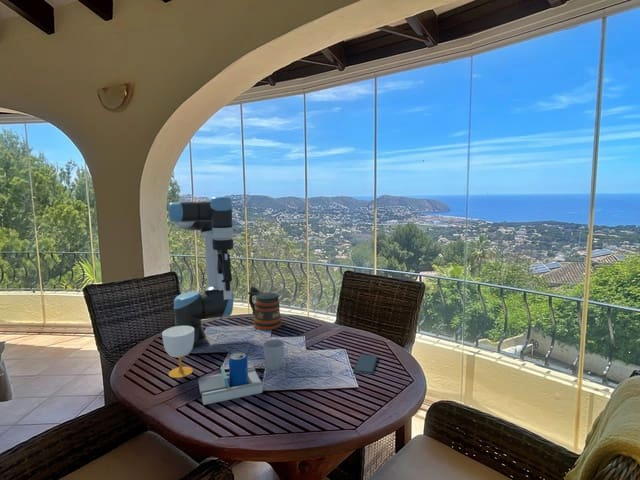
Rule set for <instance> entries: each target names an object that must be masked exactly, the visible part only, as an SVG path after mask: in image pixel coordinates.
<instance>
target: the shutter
mask: <svg viewBox="0 0 640 480" xmlns="http://www.w3.org/2000/svg"><path fill="white" fill-rule="evenodd" d="M225 370H226V369H225V367H224V366H220V374H221V375H219V376H213V377H208V378H203V379H200V378H198V379H197V383H198V387H199V394H200V395H202V394H203V393H206V392H211V391H216V390H221V389H226V388H228V381H227V375H226V373H227V372H226V371H225Z"/></svg>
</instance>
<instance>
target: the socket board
mask: <svg viewBox="0 0 640 480" xmlns="http://www.w3.org/2000/svg"><path fill="white" fill-rule="evenodd" d="M225 373H226V375H227V381H228V388H226V389H221V390H216V391H211V392H206V393H203V394H201V399H202V404H203V405H204V406H205V405H209V404H214V403H219V402H224V401H230V400H234V399H239V398H245V397H249V396H254V395H257V394H261V393H263V381H262V380H261V379H260V377H259V375H258V373H257V372H256V367H251V368H248V384H246V385H241V386H236V387H231V388H230V377H229V372H225ZM219 375H221V373H220V374H213V375H207V376H202V377H199V379H203V378H208V377H213V376H219Z"/></svg>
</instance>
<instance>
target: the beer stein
mask: <svg viewBox="0 0 640 480" xmlns="http://www.w3.org/2000/svg"><path fill="white" fill-rule="evenodd" d="M247 295H249V296H248V302H249V305H250V308H251V310H252V314H253V316H254V317H253V327H254V328H255V329H257V330H261V331H270V330H271V331H272V330H276V329H278V328H280V327H281V326H282V317H281V313H280V311H281V309H280V299H279V298H280V296H279V294H278V293H275V292H271V291H270V292H269V291H267V292H264V291H260V290H259V289H258V288H257V287H256V286H252V285H251V286H250V290H249V291H248V292H247ZM254 296H255V301H254V302H253V297H254Z"/></svg>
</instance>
